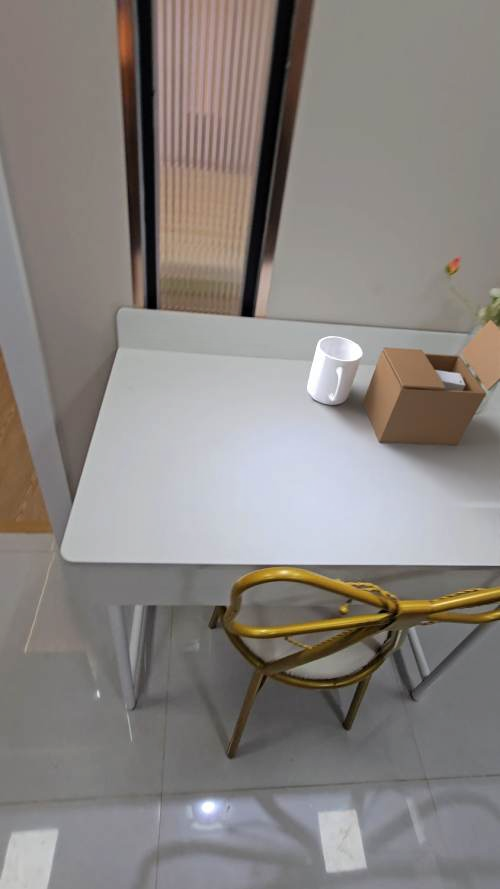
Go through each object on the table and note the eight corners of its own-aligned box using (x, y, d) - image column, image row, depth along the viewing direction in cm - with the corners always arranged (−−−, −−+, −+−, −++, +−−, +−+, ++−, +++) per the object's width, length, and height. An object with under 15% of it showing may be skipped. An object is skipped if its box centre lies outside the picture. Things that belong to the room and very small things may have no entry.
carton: (434, 406, 108) (460, 352, 98) (456, 445, 98) (488, 390, 89) (362, 402, 105) (382, 347, 96) (379, 442, 96) (403, 385, 86)
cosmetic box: (438, 418, 104) (461, 373, 95) (442, 431, 100) (466, 385, 92) (411, 414, 104) (431, 368, 95) (414, 426, 100) (436, 380, 92)
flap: (460, 352, 98) (461, 353, 98) (487, 390, 89) (489, 390, 89) (490, 319, 93) (491, 320, 93) (522, 355, 84) (524, 356, 84)
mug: (338, 379, 111) (351, 335, 103) (359, 412, 103) (375, 367, 95) (300, 381, 108) (311, 336, 100) (318, 415, 100) (332, 369, 92)
